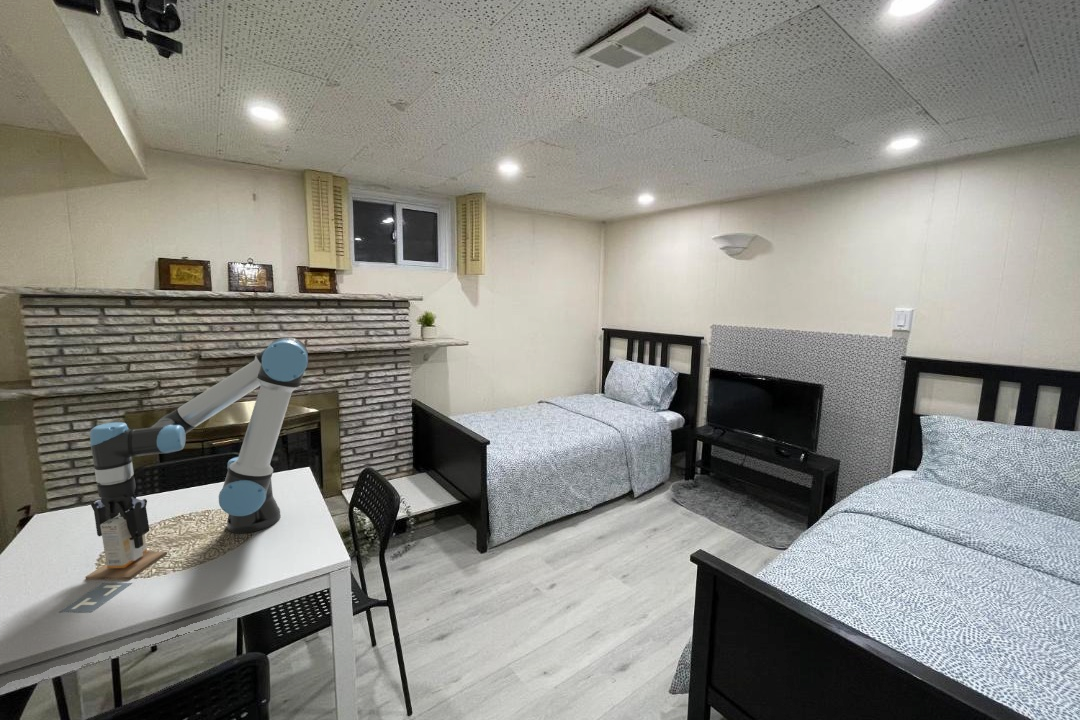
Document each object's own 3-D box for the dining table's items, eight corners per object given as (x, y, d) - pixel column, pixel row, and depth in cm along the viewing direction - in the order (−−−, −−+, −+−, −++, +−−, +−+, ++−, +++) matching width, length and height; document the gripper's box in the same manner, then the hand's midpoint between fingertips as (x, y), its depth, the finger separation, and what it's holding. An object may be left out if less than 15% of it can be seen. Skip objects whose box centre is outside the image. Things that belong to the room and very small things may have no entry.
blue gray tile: (132, 583, 119) (132, 582, 119) (91, 612, 108) (91, 611, 108) (102, 583, 119) (102, 582, 119) (58, 612, 108) (58, 611, 108)
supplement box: (130, 552, 130) (124, 509, 128) (148, 551, 131) (142, 509, 129) (105, 569, 122) (98, 524, 120) (124, 568, 123) (118, 523, 121)
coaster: (166, 554, 133) (166, 551, 133) (130, 579, 121) (129, 576, 121) (126, 553, 133) (126, 551, 133) (85, 579, 121) (85, 576, 121)
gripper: (160, 474, 127) (170, 550, 130) (96, 474, 127) (108, 550, 130) (136, 485, 119) (147, 566, 123) (68, 485, 119) (81, 565, 123)
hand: (127, 557), depth 126 cm, fingers closed on supplement box, 5 cm apart
